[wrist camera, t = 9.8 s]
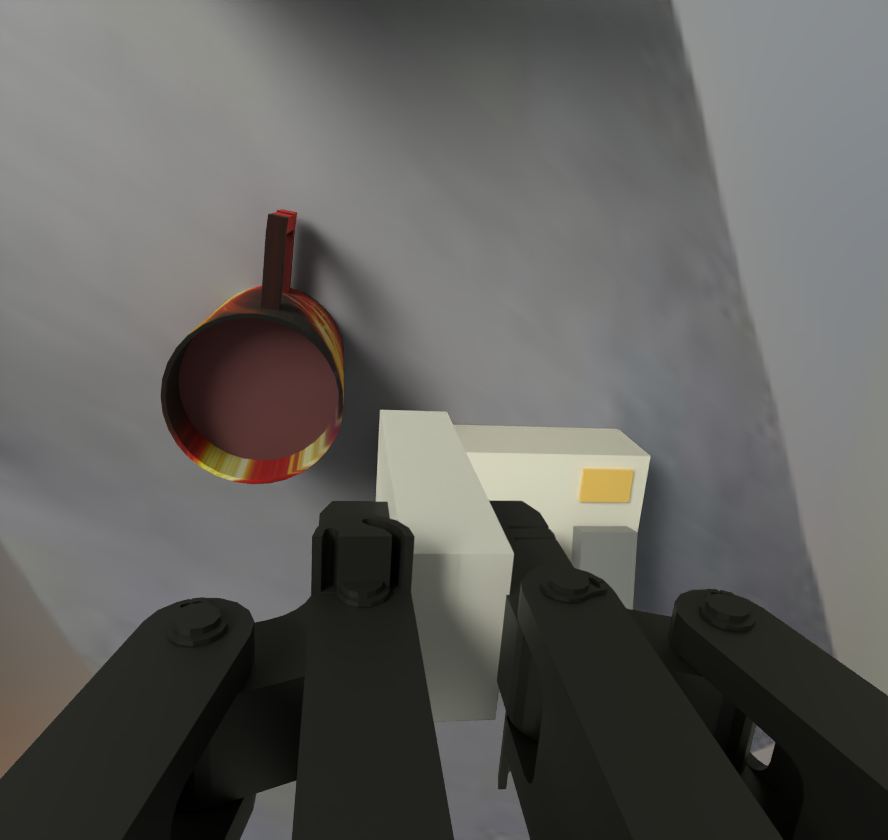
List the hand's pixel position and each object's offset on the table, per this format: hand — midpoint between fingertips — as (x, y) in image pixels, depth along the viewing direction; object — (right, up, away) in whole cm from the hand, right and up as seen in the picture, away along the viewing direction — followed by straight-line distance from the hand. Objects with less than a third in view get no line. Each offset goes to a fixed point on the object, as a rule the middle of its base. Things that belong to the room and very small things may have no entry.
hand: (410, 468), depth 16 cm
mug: (-12, +8, +33) cm, 36 cm away
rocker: (+12, -10, +33) cm, 37 cm away
